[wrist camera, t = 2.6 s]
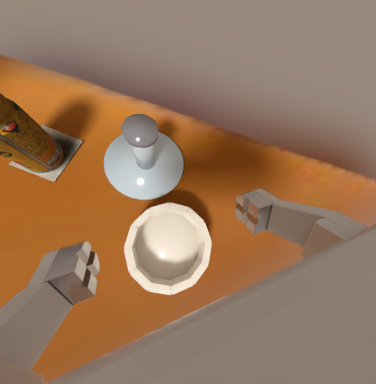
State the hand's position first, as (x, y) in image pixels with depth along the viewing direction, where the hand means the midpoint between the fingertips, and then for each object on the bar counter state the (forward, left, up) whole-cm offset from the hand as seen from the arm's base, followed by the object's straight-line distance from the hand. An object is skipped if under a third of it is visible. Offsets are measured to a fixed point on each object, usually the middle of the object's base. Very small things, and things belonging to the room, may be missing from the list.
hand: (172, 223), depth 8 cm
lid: (0, +13, -18) cm, 23 cm away
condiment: (-15, +18, -19) cm, 30 cm away
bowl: (0, -2, -18) cm, 18 cm away
